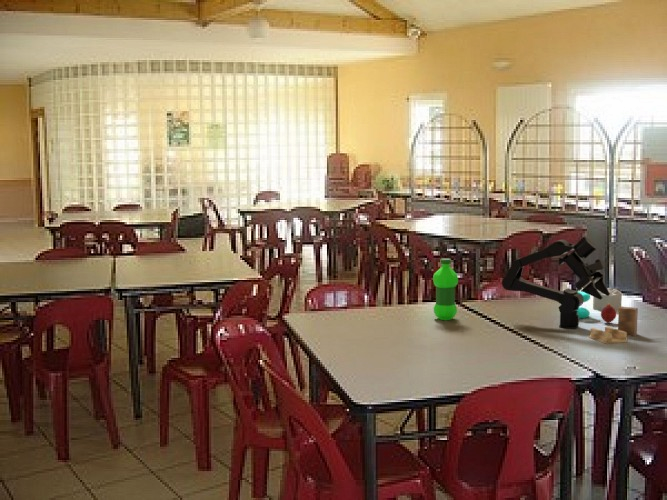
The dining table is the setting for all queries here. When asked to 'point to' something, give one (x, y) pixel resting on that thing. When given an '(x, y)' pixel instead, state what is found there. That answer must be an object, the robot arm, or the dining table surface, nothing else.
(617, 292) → the lumpy-topped squat cylinder
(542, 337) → the dining table surface
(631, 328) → the brown cardboard box
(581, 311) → the donuts
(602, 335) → the oak base
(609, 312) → the red rounded piece
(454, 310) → the plastic bottle
